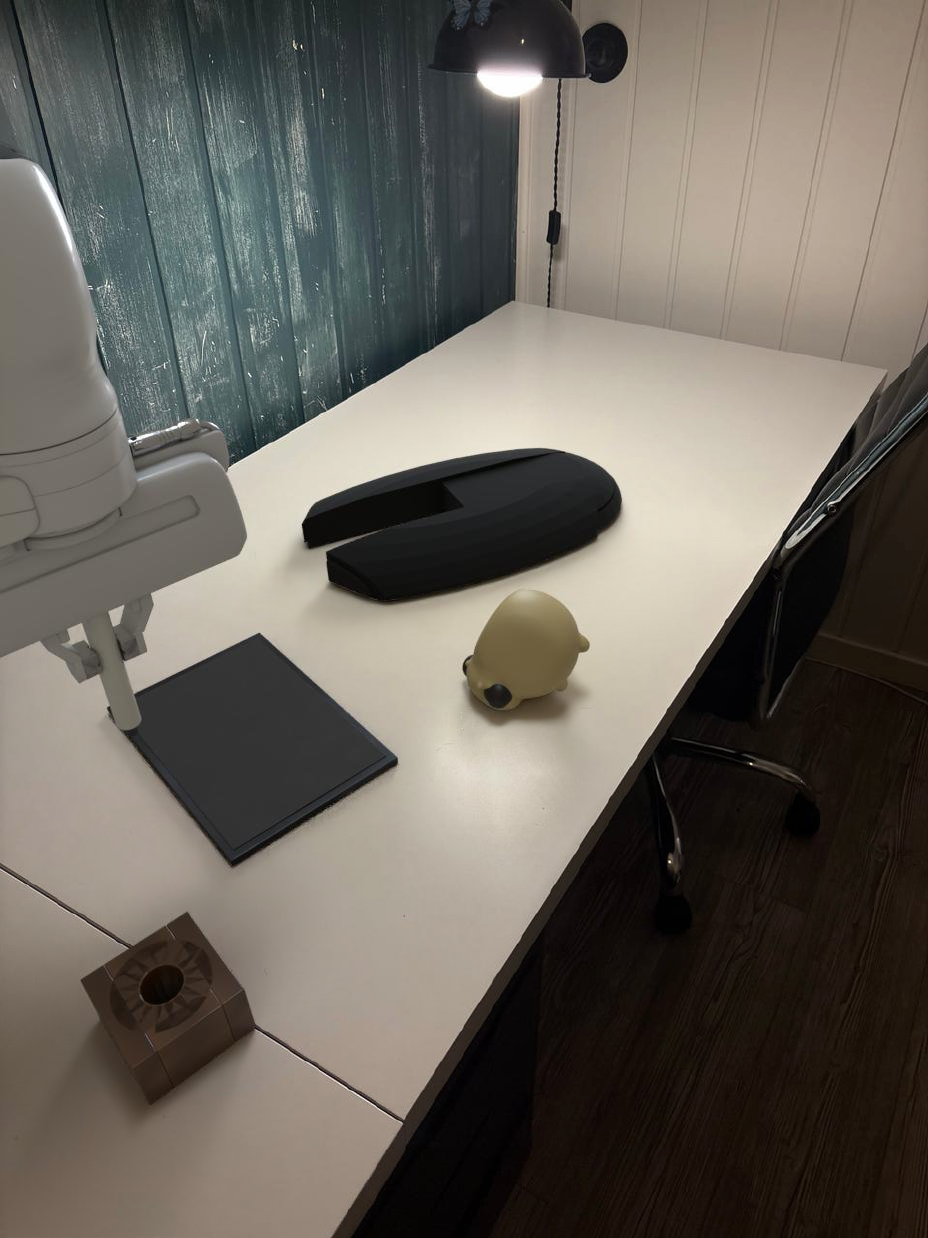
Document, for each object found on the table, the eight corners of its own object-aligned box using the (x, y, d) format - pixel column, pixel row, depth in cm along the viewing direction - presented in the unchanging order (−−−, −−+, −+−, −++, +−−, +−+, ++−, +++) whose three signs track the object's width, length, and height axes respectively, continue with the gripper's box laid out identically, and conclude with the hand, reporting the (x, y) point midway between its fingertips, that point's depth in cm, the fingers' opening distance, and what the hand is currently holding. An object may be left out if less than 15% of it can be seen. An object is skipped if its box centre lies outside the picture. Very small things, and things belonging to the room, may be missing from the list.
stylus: (126, 745, 60) (67, 569, 51) (115, 732, 61) (56, 557, 52) (149, 733, 61) (95, 558, 52) (138, 720, 62) (83, 547, 53)
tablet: (232, 867, 74) (230, 860, 74) (108, 713, 89) (106, 706, 88) (398, 763, 83) (397, 756, 82) (260, 637, 97) (259, 631, 97)
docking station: (664, 529, 112) (669, 493, 109) (354, 624, 99) (349, 587, 96) (560, 444, 130) (561, 411, 127) (284, 515, 116) (279, 480, 113)
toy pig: (500, 683, 96) (426, 650, 90) (571, 596, 93) (500, 554, 87) (541, 744, 89) (463, 712, 82) (620, 650, 86) (545, 610, 79)
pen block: (150, 1106, 60) (131, 1069, 57) (99, 1017, 65) (79, 979, 62) (256, 1027, 64) (244, 989, 61) (201, 949, 69) (187, 910, 66)
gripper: (192, 391, 56) (230, 576, 64) (-181, 508, 45) (-77, 712, 54) (246, 425, 52) (278, 617, 61) (-147, 562, 42) (-42, 771, 50)
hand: (109, 663), depth 57 cm, fingers closed on stylus, 2 cm apart
